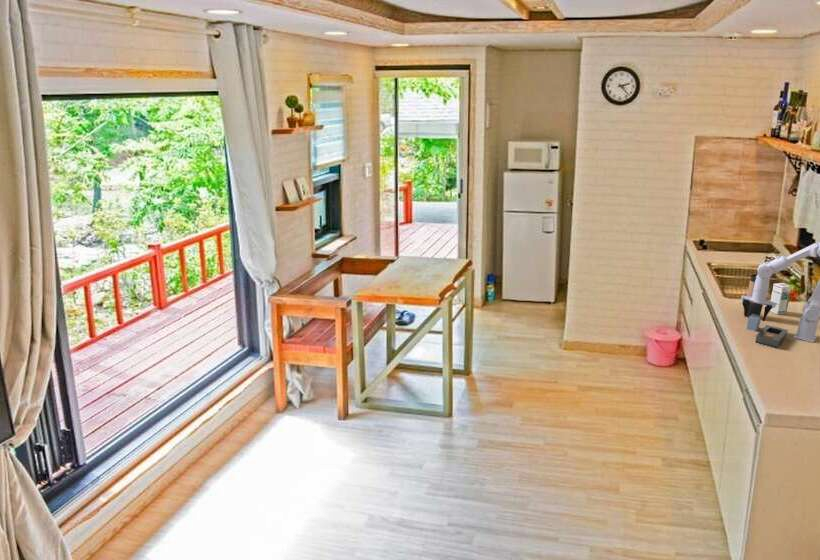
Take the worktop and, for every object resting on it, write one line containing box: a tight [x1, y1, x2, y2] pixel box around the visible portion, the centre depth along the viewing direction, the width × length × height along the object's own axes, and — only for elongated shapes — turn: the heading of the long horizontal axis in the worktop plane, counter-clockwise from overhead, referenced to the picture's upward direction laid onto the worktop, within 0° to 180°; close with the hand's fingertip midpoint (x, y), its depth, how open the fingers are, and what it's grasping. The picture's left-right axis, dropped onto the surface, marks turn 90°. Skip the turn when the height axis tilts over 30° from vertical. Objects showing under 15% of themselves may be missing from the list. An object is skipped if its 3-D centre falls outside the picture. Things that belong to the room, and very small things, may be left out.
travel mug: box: [743, 273, 764, 318], centre depth 349 cm, size 8×8×20 cm
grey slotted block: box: [754, 324, 789, 349], centre depth 321 cm, size 18×9×4 cm, turn 142°
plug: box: [746, 314, 762, 332], centre depth 334 cm, size 6×4×6 cm, turn 142°
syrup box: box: [769, 282, 792, 316], centre depth 358 cm, size 6×6×14 cm
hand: (754, 318), depth 333 cm, fingers open, 7 cm apart
